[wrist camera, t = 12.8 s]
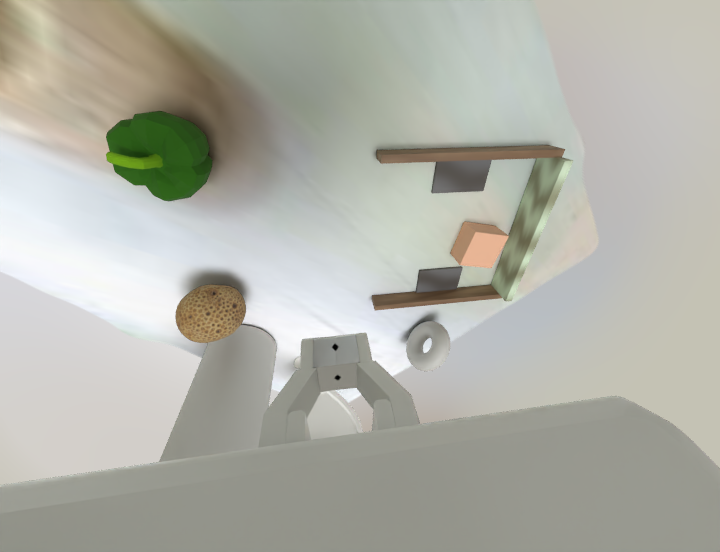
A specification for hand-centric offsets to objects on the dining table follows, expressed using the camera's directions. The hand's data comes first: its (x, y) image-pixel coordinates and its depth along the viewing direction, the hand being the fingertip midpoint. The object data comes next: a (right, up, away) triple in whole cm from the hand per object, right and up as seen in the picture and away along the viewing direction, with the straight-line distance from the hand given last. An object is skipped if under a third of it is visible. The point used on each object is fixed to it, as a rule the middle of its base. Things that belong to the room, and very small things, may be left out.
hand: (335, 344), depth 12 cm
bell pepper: (-20, +19, +19) cm, 34 cm away
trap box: (+16, +10, +31) cm, 37 cm away
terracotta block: (+21, +10, +33) cm, 40 cm away
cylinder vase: (-22, -11, +40) cm, 47 cm away
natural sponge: (-22, +1, +32) cm, 39 cm away
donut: (+14, -8, +44) cm, 47 cm away
